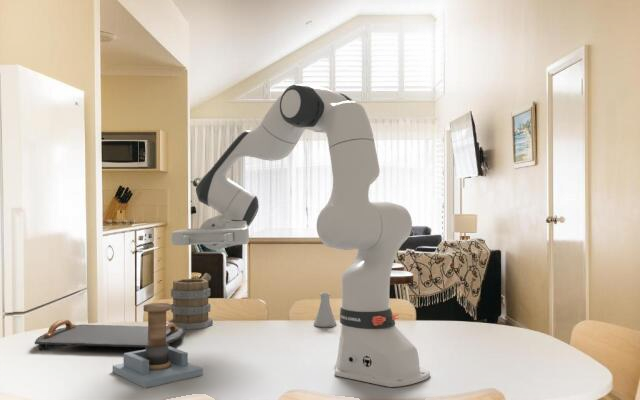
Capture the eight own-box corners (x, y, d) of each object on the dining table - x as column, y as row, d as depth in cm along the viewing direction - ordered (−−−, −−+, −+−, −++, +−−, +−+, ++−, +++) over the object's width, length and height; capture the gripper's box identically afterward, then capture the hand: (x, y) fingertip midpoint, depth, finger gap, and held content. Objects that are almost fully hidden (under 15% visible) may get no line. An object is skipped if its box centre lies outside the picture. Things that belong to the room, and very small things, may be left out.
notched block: (202, 375, 138) (202, 355, 138) (144, 388, 129) (144, 366, 129) (167, 361, 150) (167, 342, 150) (112, 371, 141) (112, 352, 141)
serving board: (194, 337, 178) (194, 315, 178) (165, 357, 155) (165, 333, 155) (68, 333, 182) (68, 312, 182) (21, 353, 160) (21, 329, 160)
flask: (337, 323, 195) (337, 291, 195) (335, 328, 188) (335, 295, 188) (314, 322, 196) (314, 291, 196) (312, 327, 189) (312, 295, 189)
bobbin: (175, 367, 139) (175, 305, 139) (151, 372, 135) (151, 308, 135) (162, 361, 144) (162, 302, 144) (138, 366, 140) (138, 305, 140)
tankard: (198, 330, 184) (198, 280, 184) (161, 328, 188) (161, 279, 188) (228, 318, 203) (228, 273, 203) (194, 316, 207) (194, 271, 207)
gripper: (178, 223, 169) (163, 228, 155) (252, 220, 168) (243, 225, 154) (179, 246, 169) (164, 253, 155) (253, 243, 168) (244, 250, 154)
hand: (204, 239), depth 155 cm, fingers open, 8 cm apart
